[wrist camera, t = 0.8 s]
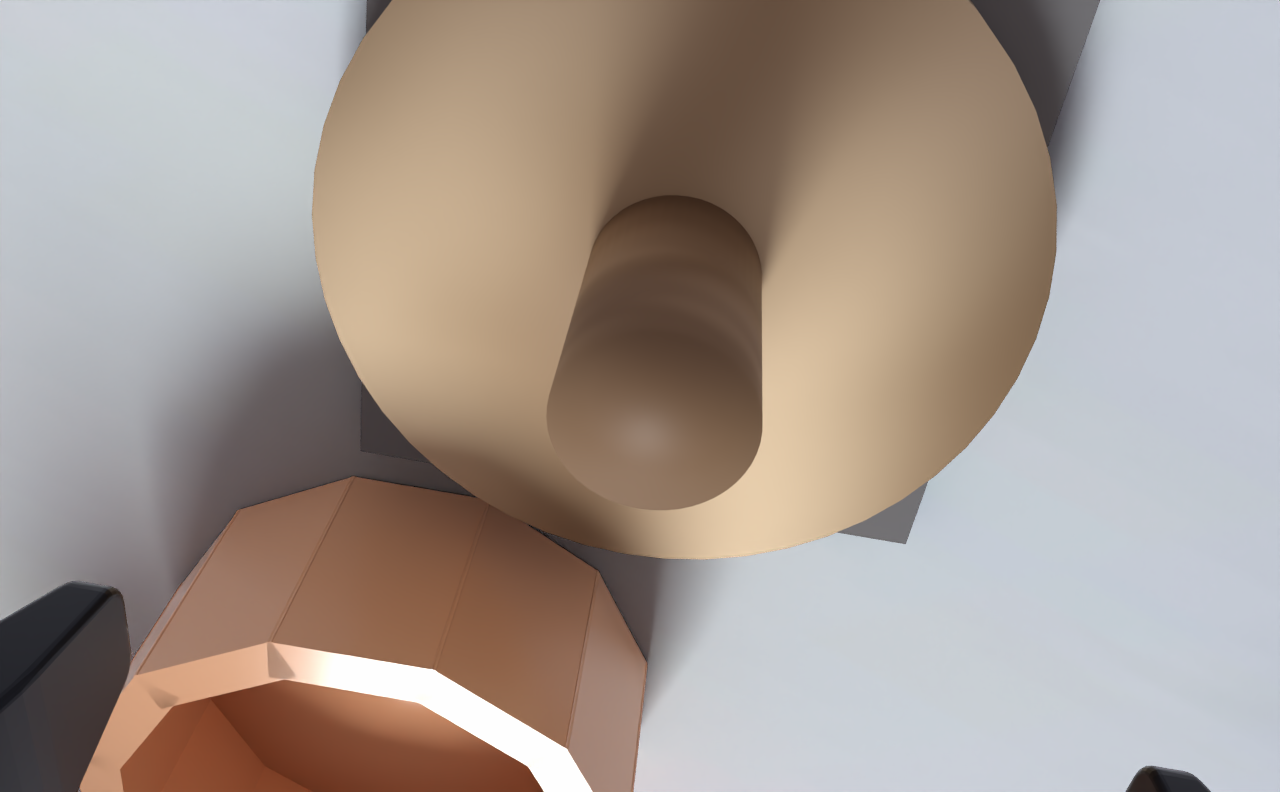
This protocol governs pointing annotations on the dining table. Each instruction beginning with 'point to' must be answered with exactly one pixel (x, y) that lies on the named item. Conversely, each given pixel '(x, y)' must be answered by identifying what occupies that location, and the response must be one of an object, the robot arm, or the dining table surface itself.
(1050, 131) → the mat
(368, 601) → the bowl
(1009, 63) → the lid
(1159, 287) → the dining table surface
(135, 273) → the dining table surface
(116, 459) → the dining table surface
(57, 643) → the robot arm
